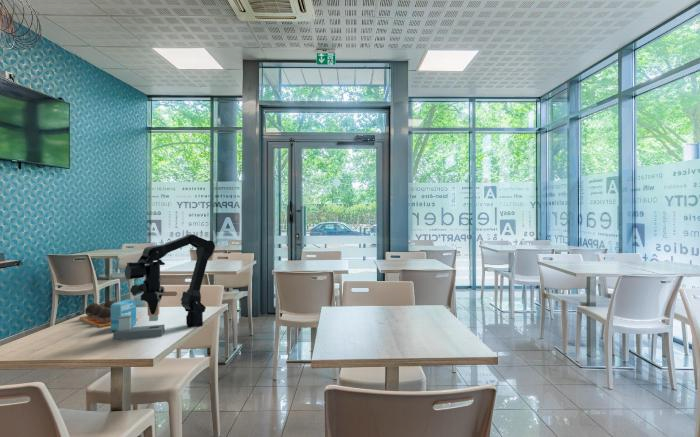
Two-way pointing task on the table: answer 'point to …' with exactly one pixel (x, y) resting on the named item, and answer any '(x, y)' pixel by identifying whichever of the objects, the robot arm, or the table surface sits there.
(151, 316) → the brown rectangular block
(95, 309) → the chocolates on board
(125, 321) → the grey plug
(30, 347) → the table surface
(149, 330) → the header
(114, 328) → the data package
